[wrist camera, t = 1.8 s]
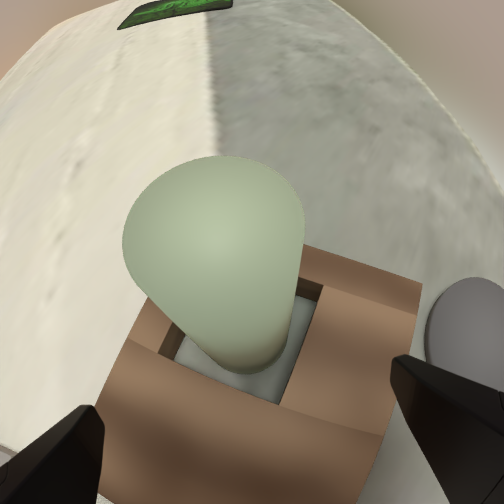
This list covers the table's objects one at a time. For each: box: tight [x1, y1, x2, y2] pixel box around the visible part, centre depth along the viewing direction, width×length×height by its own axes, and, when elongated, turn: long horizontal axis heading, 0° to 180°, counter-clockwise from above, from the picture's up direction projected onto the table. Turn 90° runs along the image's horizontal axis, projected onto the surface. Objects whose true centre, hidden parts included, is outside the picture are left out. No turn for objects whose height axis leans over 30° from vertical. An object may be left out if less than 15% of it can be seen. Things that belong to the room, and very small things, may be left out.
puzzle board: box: [95, 244, 422, 504], centre depth 17 cm, size 20×16×3 cm
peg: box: [122, 156, 305, 374], centre depth 15 cm, size 6×6×13 cm
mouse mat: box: [117, 0, 233, 30], centre depth 58 cm, size 27×22×1 cm
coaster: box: [425, 277, 504, 392], centre depth 18 cm, size 10×10×1 cm
